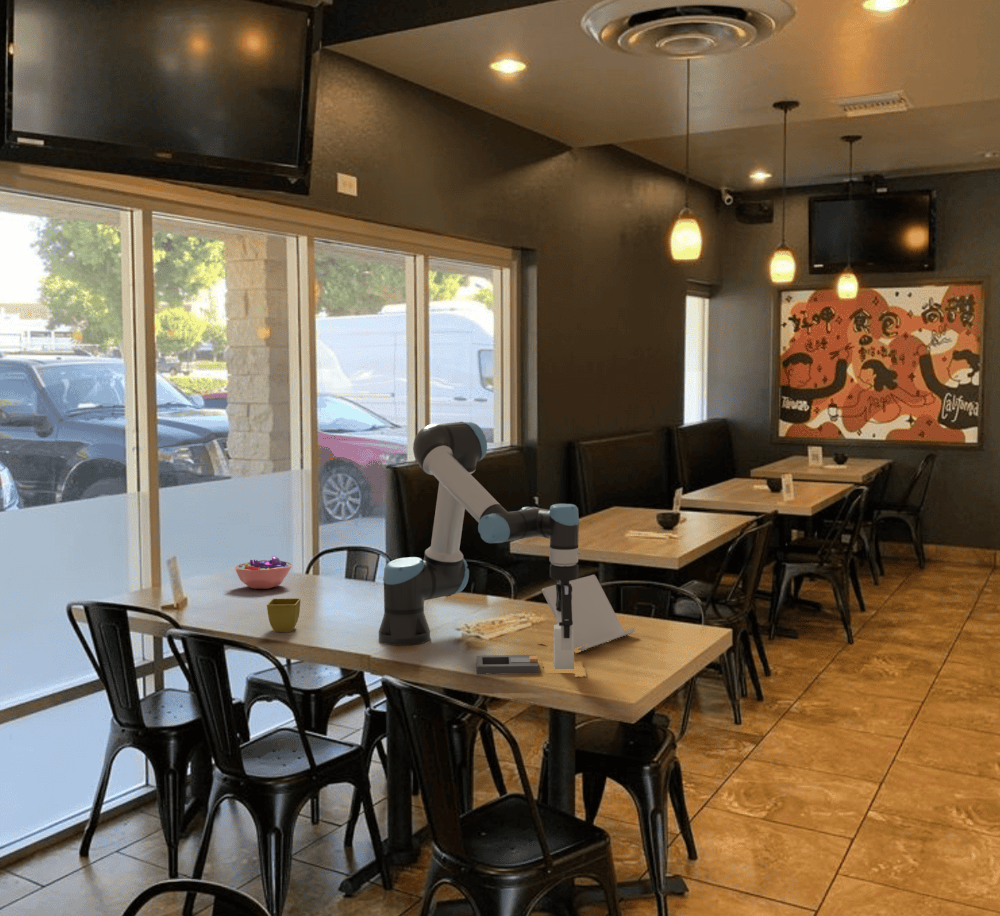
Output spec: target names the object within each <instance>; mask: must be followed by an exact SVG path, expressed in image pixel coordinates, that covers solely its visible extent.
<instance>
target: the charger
mask: <svg viewBox="0 0 1000 916" xmlns="http://www.w3.org/2000/svg"><path fill="white" fill-rule="evenodd" d="M553 636H554V646H553V661H554V663H553V664H554V667H555V669H574V661H575V653H574V627H573V625H572V650H561V626H559V625H556V624H553Z"/></svg>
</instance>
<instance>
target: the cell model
mask: <svg viewBox="0 0 1000 916" xmlns="http://www.w3.org/2000/svg"><path fill="white" fill-rule="evenodd" d="M292 567H293V564H292V563H291V562H288V561H284V560H280V558H279V557H277V556H275V555H271V559H270V560H265V559H263V560H258V559H250V560H249V562H245V563H240V564H237V565H235V567H234V569H235V572H236V574H237V577H238V579H239V580H240V581H241V582H242V584H244V585H246V586H247V587H249V588H250V589H256V590H257V589H258V590H259V589H261V590H268V589H271V588H276V587H279V586H281V584H283V583H284V581H285V579H286V577H287V576H288V574H289V573H290V570H291V569H292Z"/></svg>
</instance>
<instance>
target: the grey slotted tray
mask: <svg viewBox="0 0 1000 916" xmlns="http://www.w3.org/2000/svg"><path fill="white" fill-rule="evenodd" d="M538 659H539V658H538V655H536V654H500V655H499V654H495V655H493V654H490V655H489V654H488V655H487V654H486V655H485V654H484V655H483V654H482V655H481V654H479V655H476V675H487V674H486V673H539V670H540V669H539V661H538Z"/></svg>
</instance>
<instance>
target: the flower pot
mask: <svg viewBox="0 0 1000 916" xmlns="http://www.w3.org/2000/svg"><path fill="white" fill-rule="evenodd" d="M266 609H267V615H268V621H269V623H270V627H271V629H272V630H273V631H274V632H275V633H290V632H291V633H292V632H293V631H294V629H295V627H296V625H297V624H298V620H299V617H300V609H301V598H297V597H295V598H293V597H292V598H290V597H289V598H272V599H270V601H269V602H268V603H267V604H266Z"/></svg>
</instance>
